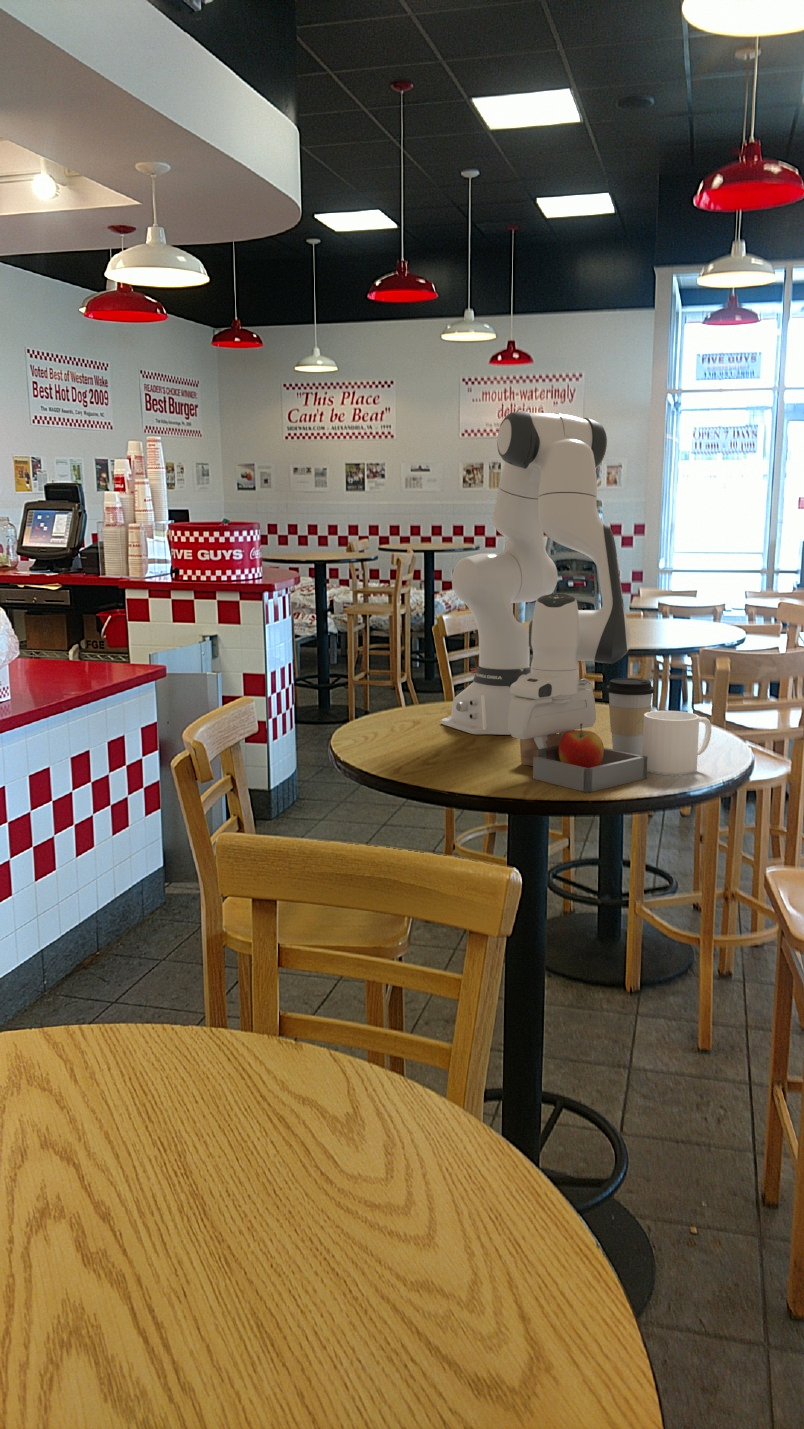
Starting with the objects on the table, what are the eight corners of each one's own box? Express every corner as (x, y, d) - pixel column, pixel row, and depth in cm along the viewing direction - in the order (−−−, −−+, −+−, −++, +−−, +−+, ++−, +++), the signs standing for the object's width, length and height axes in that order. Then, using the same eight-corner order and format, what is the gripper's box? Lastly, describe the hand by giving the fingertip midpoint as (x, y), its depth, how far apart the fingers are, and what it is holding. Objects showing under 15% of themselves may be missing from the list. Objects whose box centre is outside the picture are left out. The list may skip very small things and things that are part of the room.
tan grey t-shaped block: (508, 767, 202) (506, 735, 202) (544, 759, 208) (543, 729, 208) (546, 771, 194) (545, 739, 194) (583, 763, 201) (582, 732, 200)
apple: (605, 772, 197) (607, 719, 196) (599, 783, 190) (601, 728, 188) (562, 769, 200) (563, 717, 198) (554, 779, 192) (555, 725, 190)
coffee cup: (652, 762, 206) (655, 685, 203) (603, 760, 208) (605, 684, 205) (651, 751, 215) (654, 678, 212) (604, 749, 217) (606, 676, 214)
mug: (650, 776, 195) (652, 721, 193) (635, 763, 205) (637, 711, 203) (717, 775, 196) (720, 720, 194) (700, 762, 206) (702, 710, 204)
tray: (532, 778, 193) (533, 757, 193) (591, 765, 203) (592, 745, 202) (587, 792, 183) (588, 770, 183) (646, 778, 193) (647, 756, 193)
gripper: (579, 675, 206) (577, 745, 209) (503, 686, 193) (502, 761, 196) (604, 679, 201) (602, 751, 204) (528, 691, 188) (527, 767, 191)
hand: (552, 756), depth 200 cm, fingers closed on tan grey t-shaped block, 3 cm apart
